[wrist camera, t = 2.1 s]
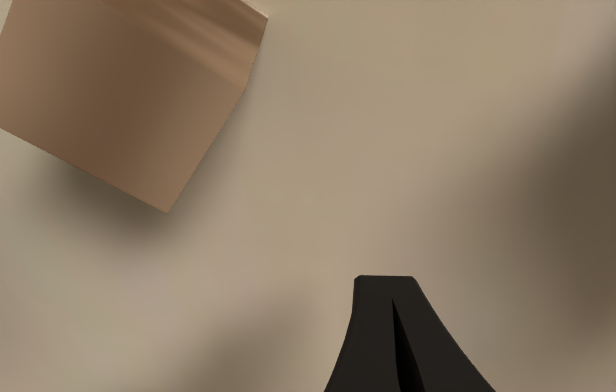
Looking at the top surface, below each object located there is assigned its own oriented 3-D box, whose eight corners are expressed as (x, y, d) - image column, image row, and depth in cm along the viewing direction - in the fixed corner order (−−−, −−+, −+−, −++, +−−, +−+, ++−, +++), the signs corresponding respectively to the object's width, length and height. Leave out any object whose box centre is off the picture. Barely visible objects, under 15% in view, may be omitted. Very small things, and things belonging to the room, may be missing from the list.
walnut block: (268, 16, 18) (244, 90, 12) (211, 110, 20) (167, 213, 14) (127, -78, 17) (27, -42, 11) (79, 33, 19) (-28, 113, 13)
